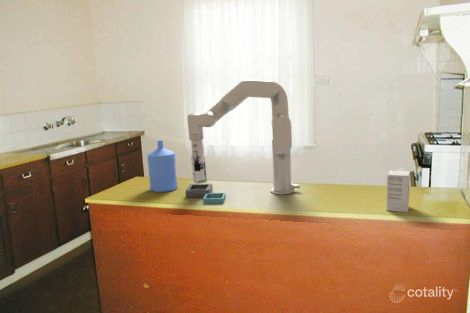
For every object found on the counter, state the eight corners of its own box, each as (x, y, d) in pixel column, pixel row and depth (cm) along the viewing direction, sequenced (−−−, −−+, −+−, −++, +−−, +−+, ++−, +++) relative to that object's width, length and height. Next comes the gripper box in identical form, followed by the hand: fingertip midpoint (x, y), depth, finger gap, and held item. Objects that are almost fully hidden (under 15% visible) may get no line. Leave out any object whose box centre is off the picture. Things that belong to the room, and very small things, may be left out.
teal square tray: (225, 197, 228) (225, 192, 227) (223, 203, 218) (223, 198, 217) (206, 197, 229) (206, 193, 228) (203, 203, 219) (203, 198, 218)
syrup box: (197, 184, 231) (195, 157, 228) (193, 182, 236) (190, 156, 233) (206, 182, 233) (205, 156, 230) (202, 180, 238) (200, 154, 235)
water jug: (168, 193, 240) (164, 143, 234) (144, 191, 246) (140, 143, 240) (182, 186, 254) (179, 139, 248) (159, 184, 260) (155, 138, 254)
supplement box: (408, 212, 192) (409, 176, 189) (386, 210, 196) (387, 174, 192) (408, 206, 201) (410, 170, 197) (387, 204, 204) (388, 169, 201)
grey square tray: (212, 190, 241) (212, 183, 241) (209, 197, 229) (208, 190, 228) (190, 191, 243) (190, 184, 242) (186, 197, 230) (185, 190, 230)
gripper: (200, 139, 221) (203, 172, 224) (205, 133, 238) (208, 165, 241) (186, 139, 221) (188, 173, 225) (192, 134, 238) (195, 165, 242)
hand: (198, 168), depth 233 cm, fingers closed on syrup box, 7 cm apart
